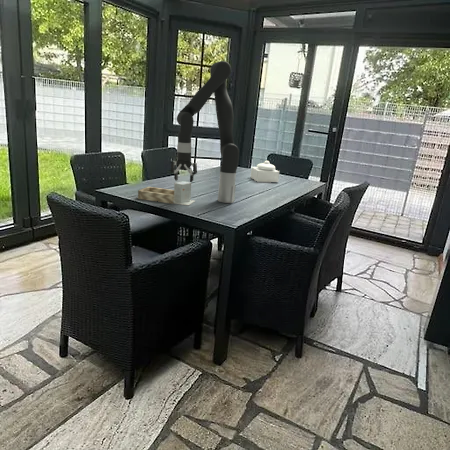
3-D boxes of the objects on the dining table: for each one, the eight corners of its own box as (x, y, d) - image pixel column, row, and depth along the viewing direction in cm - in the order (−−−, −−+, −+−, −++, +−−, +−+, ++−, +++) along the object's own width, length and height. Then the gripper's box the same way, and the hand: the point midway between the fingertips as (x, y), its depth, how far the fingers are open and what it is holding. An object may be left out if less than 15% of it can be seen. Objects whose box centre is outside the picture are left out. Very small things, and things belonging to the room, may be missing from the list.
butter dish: (256, 182, 282) (258, 161, 277) (250, 177, 298) (252, 158, 294) (278, 183, 286) (280, 162, 281) (270, 178, 302) (273, 159, 297)
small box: (183, 199, 208) (184, 181, 205) (190, 201, 205) (191, 182, 202) (173, 201, 202) (174, 182, 199) (180, 203, 199) (181, 184, 196)
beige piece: (181, 198, 210) (181, 191, 209) (172, 203, 198) (172, 195, 197) (148, 194, 215) (148, 186, 214) (138, 198, 203) (138, 190, 202)
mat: (195, 201, 208) (195, 200, 207) (188, 205, 197) (188, 205, 197) (180, 199, 210) (180, 198, 209) (173, 203, 199) (173, 202, 199)
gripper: (199, 151, 197) (198, 181, 202) (174, 149, 200) (174, 178, 205) (194, 153, 190) (193, 183, 195) (169, 150, 193) (168, 181, 198)
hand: (183, 181), depth 200 cm, fingers open, 8 cm apart
